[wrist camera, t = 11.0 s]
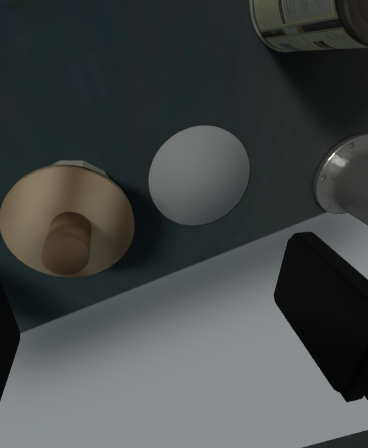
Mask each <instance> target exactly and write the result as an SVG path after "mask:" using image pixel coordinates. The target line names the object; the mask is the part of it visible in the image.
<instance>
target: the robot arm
mask: <svg viewBox="0 0 368 448" xmlns="http://www.w3.org/2000/svg"><path fill="white" fill-rule="evenodd" d="M313 193H314V198H315V200H316V202H317V204H318V205H319V206H320V207H321V208H323V209H324V210H325V211H327V212H330V213H334V214H343V213H349V214H351V215H352V216H354V217H356V218H357V219H359V220H360V221H362V222H363V223H365V224H367V225H368V134H366V133H363V134H357V135H354V136H351V137H349V138H347V139H345V140H344V141H342V142H340V143H339V144H338V145H337V146H335V147H334V148H333V149H332V150H331V151H330V152H329V153H328V154H327V156H326V157H325V158H324V160H323V161H322V162H321V164H320V166H319V168H318V170H317V173H316V175H315V179H314V184H313ZM274 300H275V302H276V304H277V306H278V307H279V309H280V310H281V312H282V313H283V315H284V316H285V318H286V319H287V321H288V322H289V323H290V325H291V327H292V328H293V330H294V331H295V333H296V334H297V336H298V337H299V338H300V340H301V341H302V343H303V344H304V346H305V347H306V349H307V350H308V352H309V353H310V355H311V356H312V358H313V359H314V361H315V362H316V364H317V365H318V367H319V368H320V370H321V371H322V373H323V374H324V375H325V377H326V378H327V380H328V382H329V383H330V384H331V386H332V387H333V388H334V390H336V391H337V392H340V393H341V395H342V396H343V398H344V399H345V401H346V402H350V401H355V400H358V399H362V398H363V396H365V397H366V399H367V400H368V280H367V279H366V278H365V277H364V276H363V275H362V274H360V273H359V272H358V271H357V270H356V269H355V268H354V267H352V266H351V265H350V264H349V263H348V262H347V261H345V260H344V259H343V258H342V257H341V256H340V255H338V254H337V253H336V252H335V251H334V250H333V249H331V248H330V247H329V246H328V245H327V244H326V243H324V242H323V241H322V240H321V239H320V238H319V237H317V236H316V235H315V234H314V233H312V232H302V233H295V234H294V235H293V236H292V238H290V239H289V240H288V242H287V247H286V250H285V254H284V258H283V261H282V265H281V269H280V273H279V277H278V281H277V285H276V288H275V292H274ZM19 341H20V331H19V328H18V325H17V323H16V320H15V317H14V315H13V312H12V310H11V307H10V304H9V302H8V299H7V296H6V294H5V291H4V289H3V286H2V283H1V281H0V400H1V397H2V394H3V391H4V388H5V385H6V382H7V379H8V375H9V373H10V369H11V367H12V363H13V360H14V357H15V354H16V351H17V348H18V345H19ZM303 448H368V430H366V431H363V432H359V433H355V434H351V435H348V436H344V437H340V438H336V439H333V440H329V441H325V442H321V443H318V444H314V445H310V446H307V447H303Z"/></svg>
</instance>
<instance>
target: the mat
mask: <svg viewBox="0 0 368 448" xmlns="http://www.w3.org/2000/svg"><path fill="white" fill-rule="evenodd" d="M249 174H250V166H249V159H248V155H247V153H246V151H245V148H244V147H243V145H242V144H241V142H240V141H239V140H238V139H237V138H236V137H235V136H234V135H232V134H231V133H229V132H228V131H226V130H224V129H221V128H218V127H214V126H207V125H206V126H195V127H191V128H187V129H185V130H182V131H180V132H178V133H177V134H175V135H174V136H172V137H171V138H170V139H168V140H167V141H166V142H165V143H164V144H163V145H162V146H161V148H160V149H159V150H158V152H157V153H156V155H155V157H154V159H153V161H152V164H151V167H150V172H149V190H150V194H151V197H152V200H153V202H154V204H155V205H156V207H157V208H158V210H159V211H160V212H161V213H162V214H163V215H164V216H166V217H167V218H169V219H170V220H172V221H174V222H177V223H180V224H184V225H203V224H207V223H210V222H213V221H215V220H218V219H220V218H221V217H223V216H224V215H226V214H227V213H228V212H230V211H231V210H232V209H233V208H234V207H235V206H236V205H237V203H238V202H239V201H240V199H241V198H242V196H243V194H244V192H245V190H246V187H247V184H248V181H249Z"/></svg>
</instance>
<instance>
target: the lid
mask: <svg viewBox="0 0 368 448" xmlns="http://www.w3.org/2000/svg"><path fill="white" fill-rule="evenodd" d="M0 230H1V234H2V236H3V239H4V241H5V243H6V245H7V246H8V248H9V249H10V250H11V252H12V253H13V254H14V255H15V256H16V257H17V258H18V259H19V260H21V261H22V262H23V263H25V264H26V265H28V266H29V267H31V268H33V269H35V270H37V271H40V272H42V273H45V274H49V275H53V276H59V277H83V276H88V275H92V274H95V273H98V272H101V271H103V270H105V269H107V268H109V267H110V266H112V265H113V264H115V263H116V262H117V261H118V260H119V259H120V258H121V257H122V256H123V255H124V254H125V253H126V251H127V250H128V248H129V246H130V244H131V242H132V239H133V235H134V217H133V212H132V207H131V205H130V202H129V200H128V198H127V197H126V195H125V193H124V192H123V191H122V190H121V188H120V187H119V186H118V185H117V184H116V183H115V182H113V181H112V180H111V179H109V178H108V177H106V176H105V175H103V174H101V173H99V172H97V171H95V170H92V169H89V168H86V167H82V166H77V165H65V164H64V165H52V166H47V167H43V168H40V169H37V170H35V171H33V172H31V173H29V174H27V175H26V176H24V177H23V178H21V179H20V180H19V181H18V182H17V183H16V184H15V185H14V186H13V188H12V189H11V190H10V192H9V193H8V194H7V196H6V198H5V199H4V201H3V204H2V207H1V209H0Z"/></svg>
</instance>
